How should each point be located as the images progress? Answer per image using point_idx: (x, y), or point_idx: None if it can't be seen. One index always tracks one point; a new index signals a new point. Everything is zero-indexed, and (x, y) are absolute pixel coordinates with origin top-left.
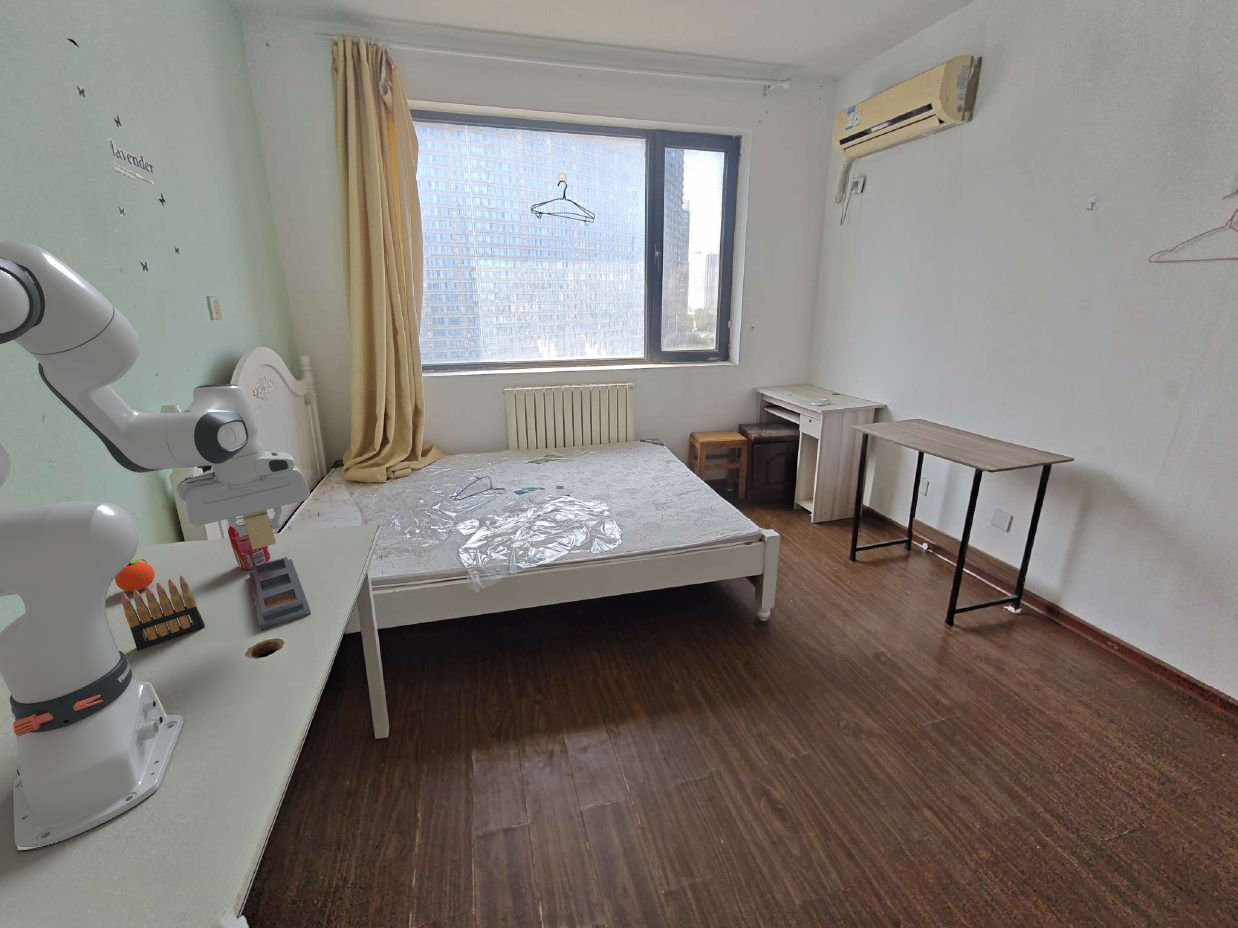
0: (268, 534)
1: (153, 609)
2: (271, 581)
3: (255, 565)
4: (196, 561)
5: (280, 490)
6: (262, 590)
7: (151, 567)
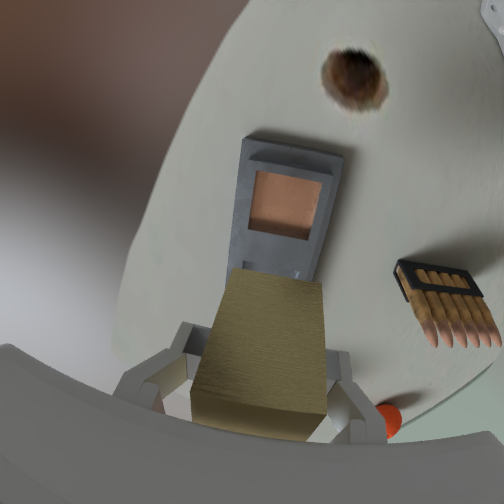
0: (242, 303)
1: (466, 307)
2: None
3: None
4: None
5: (43, 465)
6: None
7: None
